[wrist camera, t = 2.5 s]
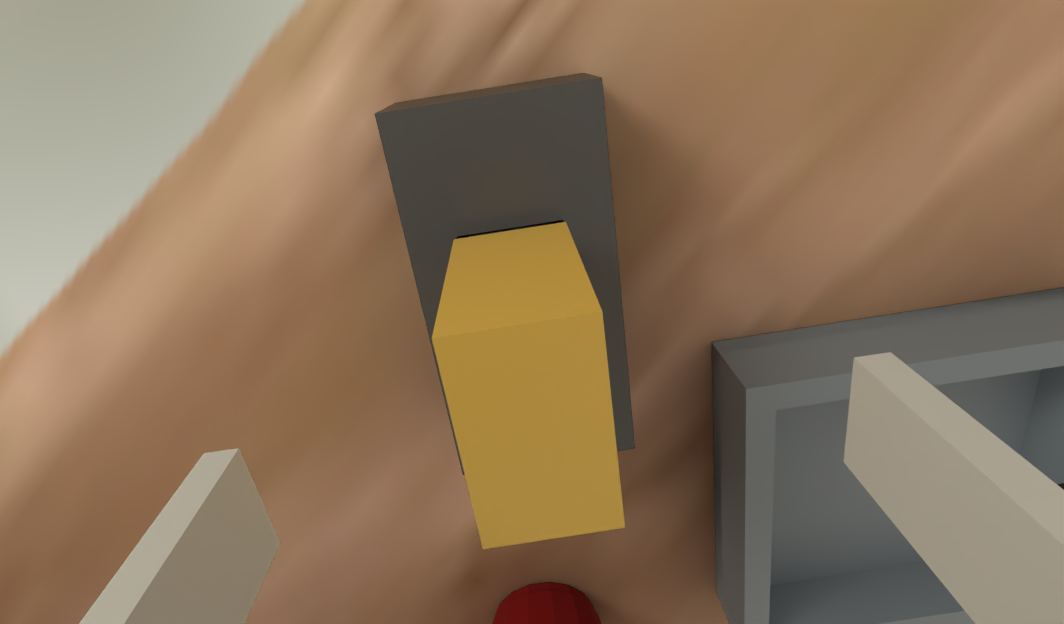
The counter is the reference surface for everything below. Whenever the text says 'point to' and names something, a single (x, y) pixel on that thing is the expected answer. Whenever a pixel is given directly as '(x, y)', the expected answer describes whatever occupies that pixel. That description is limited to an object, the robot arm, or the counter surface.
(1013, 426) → the parts tray
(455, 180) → the block
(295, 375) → the counter surface
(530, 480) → the block
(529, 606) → the plastic cup
